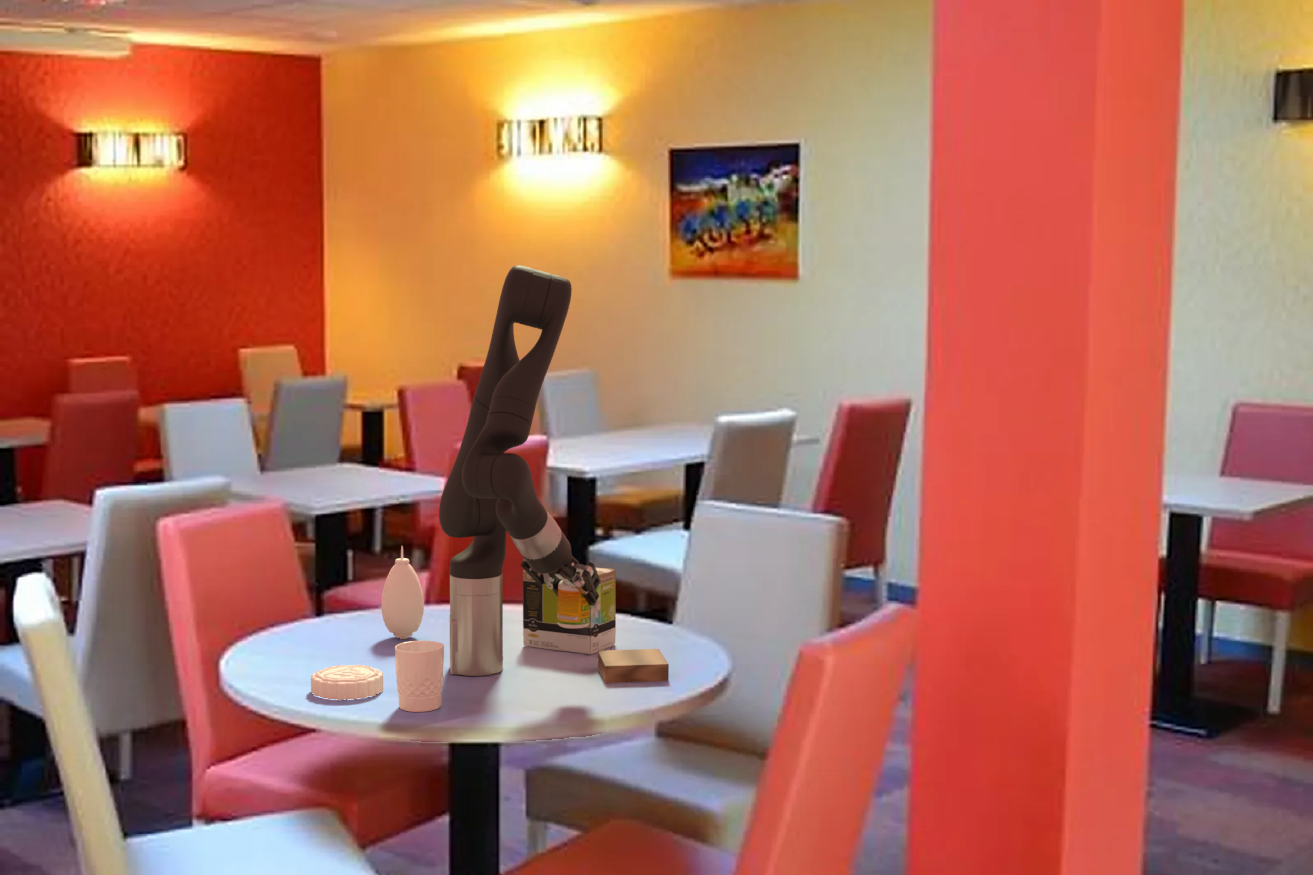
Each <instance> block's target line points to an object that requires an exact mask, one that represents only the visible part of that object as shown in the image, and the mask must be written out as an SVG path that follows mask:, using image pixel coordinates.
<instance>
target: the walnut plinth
mask: <svg viewBox="0 0 1313 875" xmlns="http://www.w3.org/2000/svg"><path fill="white" fill-rule="evenodd" d="M669 667H670V666H669V663H668V661H667V659H666V657H665V656H664V654H663V653H662V651H661V649H660V648H644V649H643V648H642V649H641V648H640V649H637V648H636V649H610V650H609V649H608V650H606V649H604V650H601V651H598V652H597V668H598V671H599V673H600V675H601V677H602V679H603V681H604V683H605V684H617V683H618V684H619V683H621V684H622V683H649V682H652V683H653V682H668V681H669V678H670V677H669V672H670V670H669Z"/></svg>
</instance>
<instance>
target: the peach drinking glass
mask: <svg viewBox="0 0 1313 875" xmlns="http://www.w3.org/2000/svg"><path fill="white" fill-rule="evenodd" d="M444 655H445V644H443V643H442V642H438V641H433V640H432V641H431V640H412V641H411V640H410V641H404V642H401V643H398V644H396V645H395V646H394V656H395V657H394V658H395V674H396V688H397V689H396V690H397V693H398V695H397V696H398V707H399V709H400V710H402V711H406V712H409V713H410V712H411V713H413V712H414V713H423V712H424V713H425V712H431V711H435V710H438V709H439V708H441V707H442V689H443V683H444V682H443V681H444V679H443V678H444V662H445V661H444V658H445V656H444Z"/></svg>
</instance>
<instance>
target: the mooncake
mask: <svg viewBox="0 0 1313 875" xmlns="http://www.w3.org/2000/svg"><path fill="white" fill-rule="evenodd" d="M381 691H383V692H384V672H382V671H381V670H380V669H379V668H374V667H371V666H370V665H363V664H353V665H351V664H350V665H348V664H347V665H346V664H345V665H344V664H343V665H342V664H340V665H339V664H338V665H336V666H334V665H333V666H328V667H326V668H323V669H320V670H316V671H315V672H314V673H312V674H311V676H310V693H311V692H312V693H314V695H315V696H320V697H323V698H328V699H338V700H344V699H357V698H365V697H367V696H374V697H375V696H377V695H376V694H379V693H380V692H381ZM381 693H382V692H381ZM381 693H380V694H381ZM380 694H379V695H380ZM314 695H313V696H314ZM357 700H358V699H357Z"/></svg>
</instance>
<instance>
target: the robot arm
mask: <svg viewBox="0 0 1313 875" xmlns="http://www.w3.org/2000/svg"><path fill="white" fill-rule="evenodd" d="M572 291H573V290H572V283H571V281H570V280H569V279H568V278H566V277H563V276H561V275H557V274H554V273H551V272H548V271H543V270H540V269H537V268H536V269H535V268H532V267H528V266H525V265H514V266H511V268H510V269H509V271H508V273H507V274H506V277H505V279H504V283H503V285H502V288H501V292H500V297H499V300H498V301H499V302H498V305H497V310H496V315H495V320H494V324H493V329H492V333H491V338H490V343H489V346H488V351H487V355H486V357H485V361H484V365H483V368H482V370H481V374H480V376H479V381H478V383H477V387H476V389H475V392H474V396H473V399H472V404H471V406H470V411H469V415H468V419H467V424H466V427H465V431H464V434H463V436H462V440H461V443H460V447H459V450H458V452H457V456H456V459H455V461H454V464H453V466H452V468H451V470H450V473H449V476H448V478H447V480H446V484H445V485H444V489H443V491H442V495H441V498H440V500H439V501H440V502H439V509H438V518H439V524H440V527H441V530H442V532H444V534H446V536H449V537H451V538H459V539H460V538H461V539H462V538H471V537H473V540H472V541H471V543H470V544H469V545H468V547H466V548H465V549H464V550H462V551H461V552H459V553H457V554H456V555H454V556H453V557H452V558H451V559H450V561H449V669H450V674H451V675H461V676H469V677H470V676H471V677H473V676H474V677H476V676H478V677H479V676H488V675H489V676H490V675H494V674H497V673H500V672H502V671H503V669H504V666H503V664H504V662H503V661H504V651H503V648H504V646H503V644H504V643H503V642H504V641H503V638H504V637H503V636H504V634H503V631H504V629H503V627H504V626H503V624H504V623H503V621H504V619H503V614H504V613H503V609H504V608H503V606H504V605H503V604H504V603H503V600H504V599H503V597H504V596H503V587H504V586H503V566H504V562H505V559H506V554H507V552H506V551H507V534H508V535H509V537H510V538H511V541H512V543H513V544H514V546H515V547H516V549H517V550H518V552H519V553H520V555H521V556H522V557H523V558H522V562H520V567H521V568H522V569H523V571H524V570H525V571H526V572H527V573H528V574H529V575H530V576H531V577H532V578H533V579H534V581H535V582H536V583H537V584H539V585H543V584H546V586H547V587H548V588H550V589H552V590H553V591H554V593H555V594H556V596H558V584H559V582H560V581H562V580H563V581H564V582H565V583H567V584H568V585H569V586H570V587H571V588H577V589H578V590H579V591H580V592H581V593H582V595H583V596H584V598H585V599H586V601H587V602H588V604H589V605H592V606H594V605H595V603H596V602H597V600H598V598H599V594H598V593H597V591H596V589H597V587H598V585H599V583H600V578H599V576H598V573H597V571H596V568H597V567H596V566H595V563H594V562H591V561H588V562H587V563H586V565H585V564H582V563H580V562H579V560H577V558H575V557H574V556H573V555H572V546H571V543H570V541H569V540H568V539H567V537H566V535H565V534H564V532H563V531H562V529H561V527H560V526H559V524H558V523H557V521H556V520H555V519H554V517H553V516H552V514H551V513H549V512H548V511H547V509H546V508H545V507H544V505H543V504H542V502H541V500H540V499H539V498H538V495H537V492H536V488H535V484H534V481H533V475H532V471H531V468H530V465H529V463H528V462H527V460H525V459H524V458H523V457H522V456H521V455H518V453H517V454H516V453H513V452H512V453H509V452H507V451H508V450H510V449H513V448H516V447H518V446H521V445H524V444H525V443H526V442H527V440H528V438H529V435H530V433H531V430H532V424H533V421H534V416H535V410H536V407H537V403H538V399H539V395H540V392H541V389H542V385H543V383H544V380H545V378H546V375H547V372H548V370H549V367H550V365H551V362H552V360H553V356H554V354H555V352H556V349H557V346H558V343H559V340H560V336H561V334H562V331H563V329H564V328H563V327H564V324H565V321H566V318H567V315H568V312H569V309H570V304H571V299H572ZM514 324H520V325H523V326H527V327H529V328H534V329H536V330H537V329H538V330H541V333H540V335H539V337H538V340H537V341H536V343H535V344H534V346H533V347H532V348H531V349H530V350H529V351H528V352H527V353H526V354H525V355H524V357H522V358H521V359H520V357H519V355H518V351H517V347H516V341H515V333H514V332H515V331H514ZM595 567H596V568H595ZM538 573H541V574H540V576H538ZM575 573H576V576H575V578H574V580H572V579H573V577H574V575H575ZM581 580H583V581H584V582H585V583H584V585H583V586H582V585H581V584H580V582H581Z"/></svg>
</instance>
